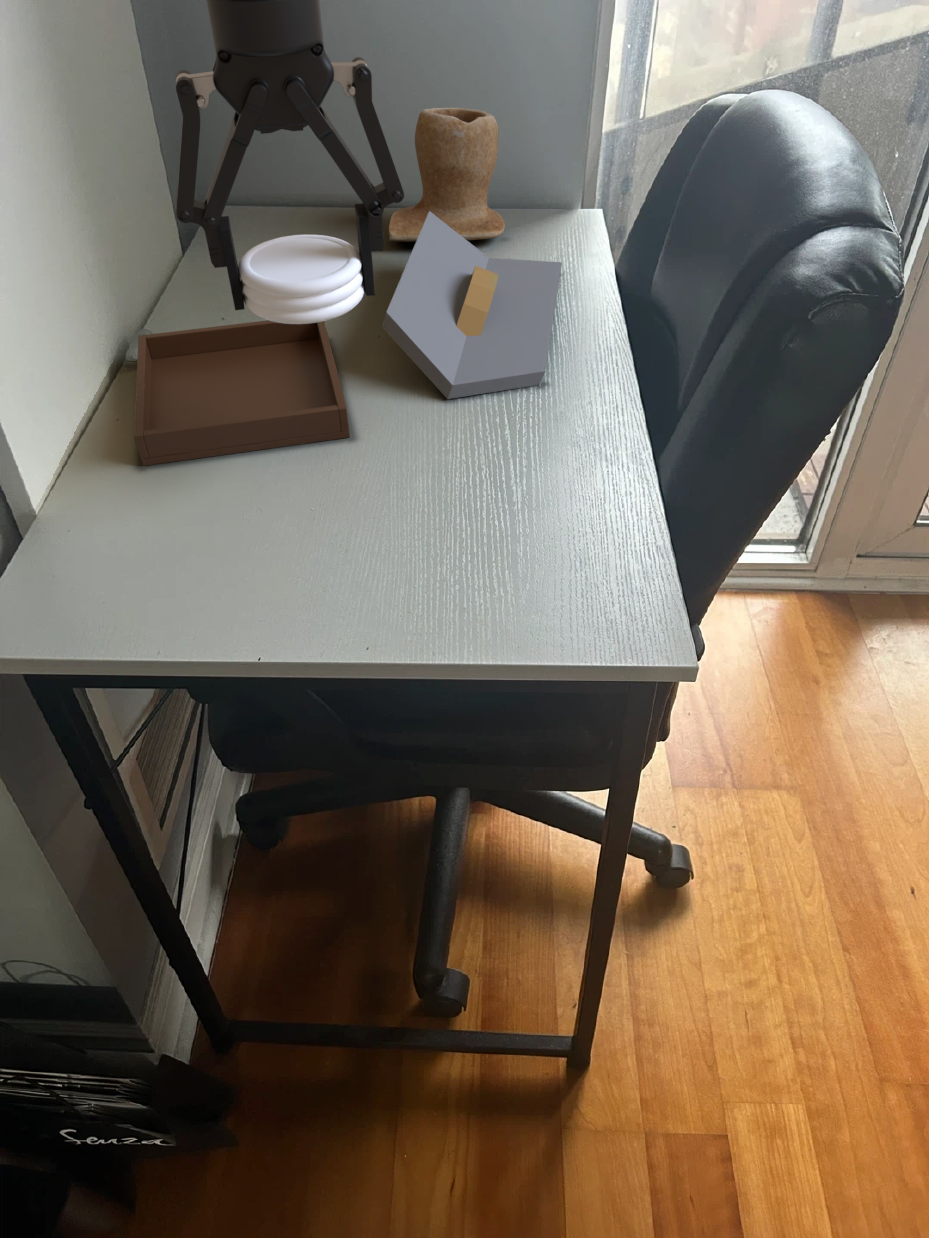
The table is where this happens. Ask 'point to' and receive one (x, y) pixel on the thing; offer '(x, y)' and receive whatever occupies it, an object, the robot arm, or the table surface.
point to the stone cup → (453, 175)
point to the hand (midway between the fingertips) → (304, 295)
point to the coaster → (301, 279)
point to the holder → (236, 390)
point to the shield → (473, 314)
